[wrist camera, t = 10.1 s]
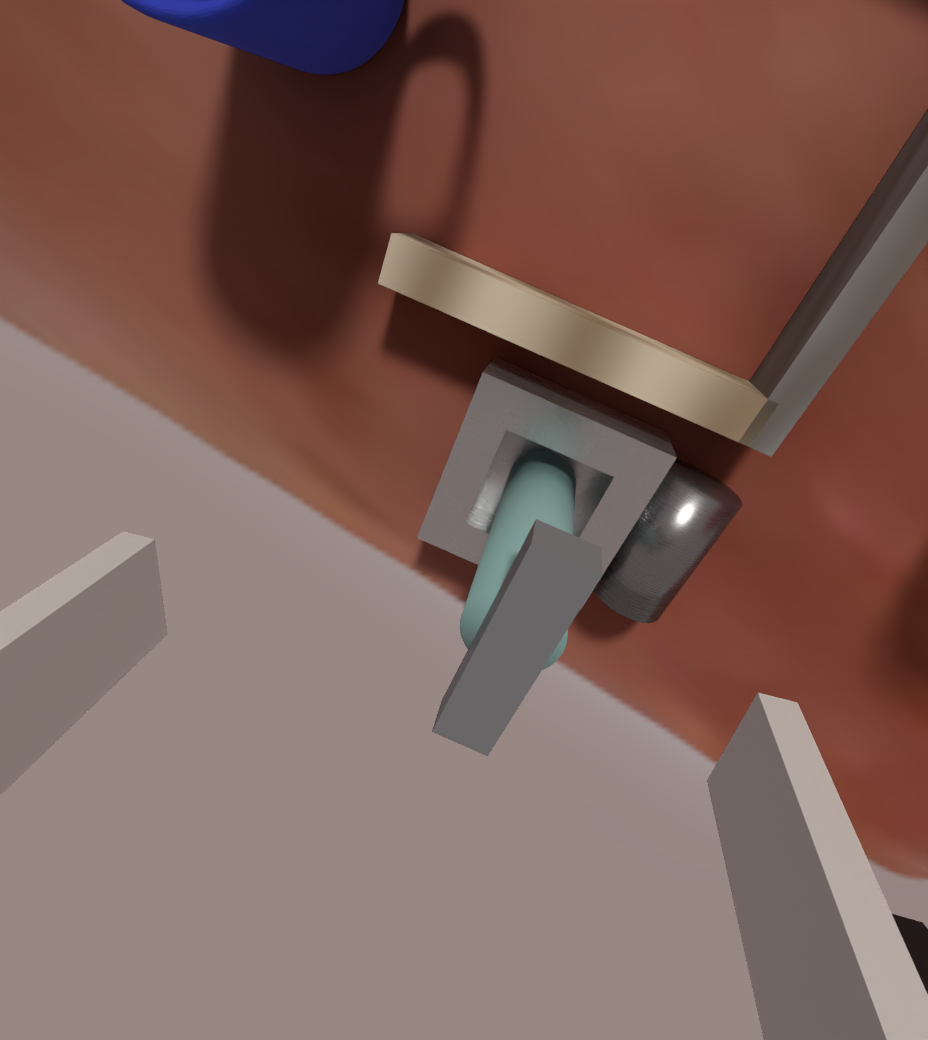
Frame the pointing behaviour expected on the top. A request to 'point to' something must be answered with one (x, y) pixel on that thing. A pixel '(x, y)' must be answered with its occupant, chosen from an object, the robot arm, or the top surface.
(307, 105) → the top surface
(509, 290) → the bay
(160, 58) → the top surface
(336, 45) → the mug
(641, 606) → the block
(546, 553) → the crank peg
